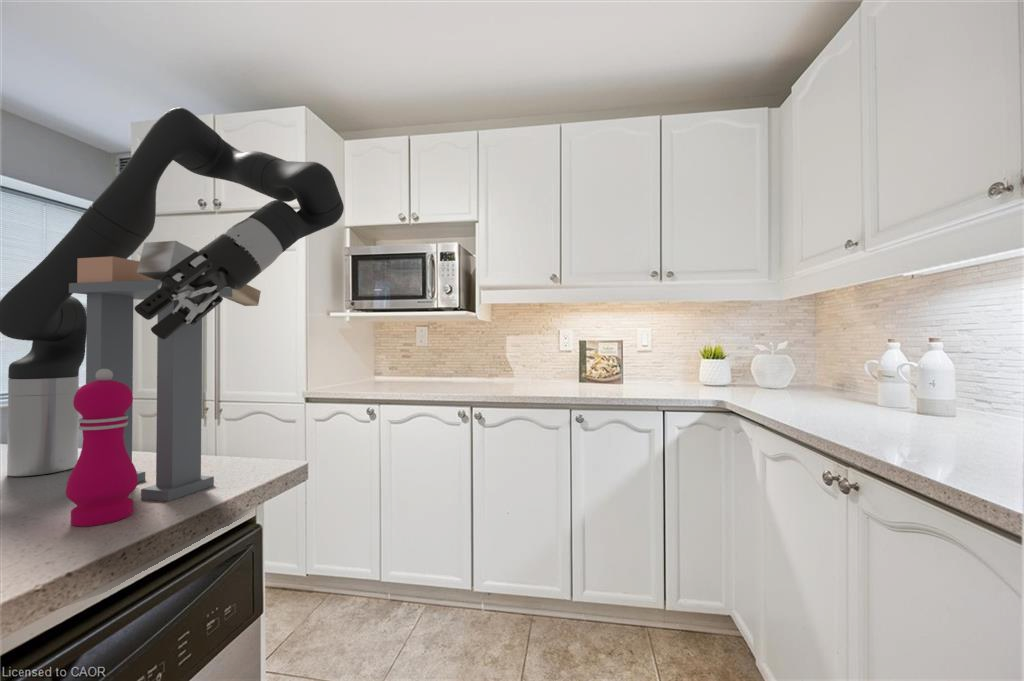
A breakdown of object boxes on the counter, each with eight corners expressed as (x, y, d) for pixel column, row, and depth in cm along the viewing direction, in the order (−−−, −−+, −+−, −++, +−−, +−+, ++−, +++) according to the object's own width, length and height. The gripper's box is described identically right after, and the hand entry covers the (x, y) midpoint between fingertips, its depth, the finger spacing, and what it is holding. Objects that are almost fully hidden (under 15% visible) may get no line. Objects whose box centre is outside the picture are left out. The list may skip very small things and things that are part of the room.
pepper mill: (95, 530, 57) (96, 370, 58) (50, 526, 59) (51, 369, 59) (151, 510, 65) (152, 367, 65) (109, 506, 66) (111, 367, 66)
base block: (77, 283, 73) (77, 258, 73) (140, 290, 83) (140, 268, 83) (112, 282, 72) (112, 256, 72) (172, 289, 81) (172, 267, 81)
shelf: (66, 492, 72) (69, 283, 73) (137, 473, 83) (138, 291, 84) (170, 501, 68) (172, 279, 69) (231, 480, 79) (232, 288, 79)
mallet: (136, 272, 71) (144, 242, 72) (237, 311, 90) (242, 286, 91) (168, 271, 70) (175, 240, 71) (263, 310, 89) (268, 285, 90)
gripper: (227, 258, 77) (138, 325, 69) (216, 211, 65) (107, 286, 57) (264, 287, 78) (182, 357, 70) (260, 247, 66) (160, 325, 58)
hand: (148, 325), depth 63 cm, fingers open, 8 cm apart
